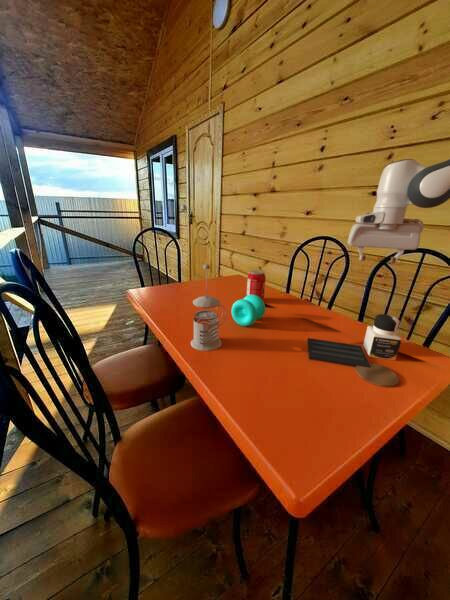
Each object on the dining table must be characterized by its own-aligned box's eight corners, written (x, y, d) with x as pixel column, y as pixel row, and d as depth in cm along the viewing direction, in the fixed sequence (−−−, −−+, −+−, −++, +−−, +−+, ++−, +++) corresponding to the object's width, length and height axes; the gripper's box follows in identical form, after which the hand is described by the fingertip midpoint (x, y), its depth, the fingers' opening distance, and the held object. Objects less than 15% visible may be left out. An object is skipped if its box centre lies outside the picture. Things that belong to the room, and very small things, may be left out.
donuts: (265, 321, 97) (267, 296, 94) (253, 330, 89) (255, 304, 86) (242, 315, 102) (244, 291, 99) (229, 323, 94) (230, 298, 91)
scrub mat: (360, 348, 80) (361, 344, 80) (370, 369, 69) (370, 365, 69) (307, 340, 84) (308, 337, 84) (308, 359, 73) (309, 355, 73)
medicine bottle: (368, 357, 75) (378, 320, 71) (362, 345, 81) (370, 310, 77) (395, 361, 73) (407, 323, 69) (387, 348, 80) (396, 313, 76)
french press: (184, 340, 81) (183, 262, 73) (215, 331, 87) (216, 259, 79) (200, 354, 73) (199, 269, 65) (232, 343, 80) (235, 265, 72)
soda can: (242, 304, 115) (244, 271, 110) (252, 300, 120) (255, 268, 115) (256, 308, 110) (259, 274, 105) (266, 304, 115) (269, 272, 110)
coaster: (404, 376, 66) (404, 374, 66) (391, 392, 60) (391, 391, 60) (364, 359, 73) (364, 358, 73) (348, 372, 67) (349, 371, 67)
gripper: (420, 219, 80) (409, 262, 85) (351, 216, 85) (343, 257, 90) (430, 219, 75) (417, 265, 79) (354, 217, 80) (346, 260, 84)
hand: (377, 261), depth 85 cm, fingers open, 8 cm apart
